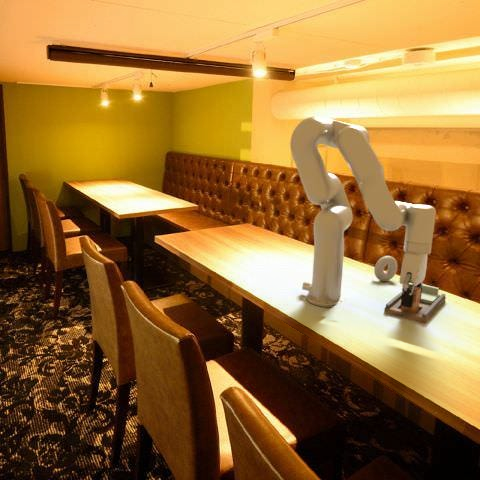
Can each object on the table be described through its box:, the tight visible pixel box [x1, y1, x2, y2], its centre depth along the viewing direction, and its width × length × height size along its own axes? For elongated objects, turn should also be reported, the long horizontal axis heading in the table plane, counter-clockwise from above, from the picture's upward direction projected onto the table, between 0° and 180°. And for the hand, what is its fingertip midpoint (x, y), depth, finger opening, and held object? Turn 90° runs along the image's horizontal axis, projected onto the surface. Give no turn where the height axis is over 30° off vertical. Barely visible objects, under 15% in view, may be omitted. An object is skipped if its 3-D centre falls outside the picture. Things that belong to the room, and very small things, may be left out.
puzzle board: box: [383, 291, 447, 324], centre depth 139 cm, size 12×22×4 cm, turn 141°
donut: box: [373, 255, 398, 282], centre depth 165 cm, size 10×4×10 cm, turn 113°
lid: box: [420, 284, 441, 304], centre depth 142 cm, size 9×8×3 cm
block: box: [401, 286, 421, 314], centre depth 133 cm, size 4×4×8 cm
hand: (410, 302), depth 133 cm, fingers open, 7 cm apart
